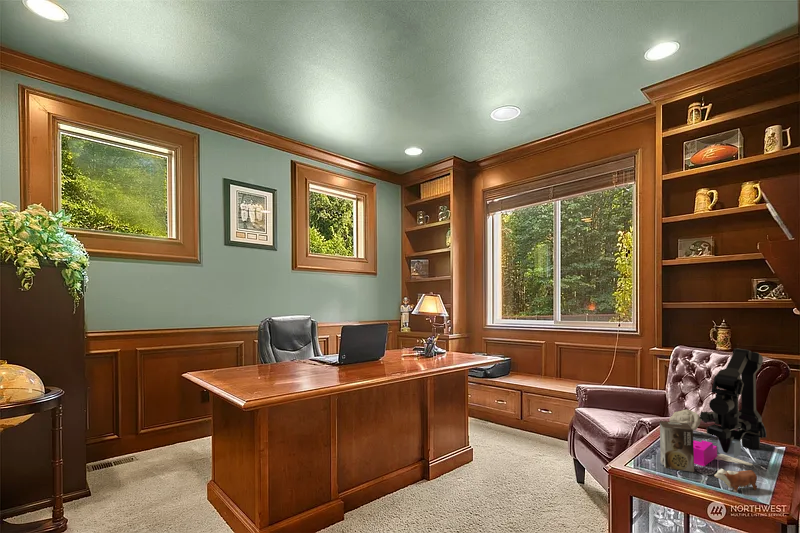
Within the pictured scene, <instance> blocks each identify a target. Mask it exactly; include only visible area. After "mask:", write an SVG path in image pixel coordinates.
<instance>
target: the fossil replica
mask: <svg viewBox="0 0 800 533" xmlns="http://www.w3.org/2000/svg"><path fill="white" fill-rule="evenodd" d="M668 421H669V422H678V423H687V424H688V425H689V426H690V427H691V428H692V429H693V432H694V431H696V430H698V427H699V426H700V424H701V421H702V420H701V419H700V414H699V413H697V411H693V410H691V409H687V408H686V409H683V410H679V411H678V410H677V411H675V412H673V413H672V415H671V416H670V417H669V420H668Z"/></svg>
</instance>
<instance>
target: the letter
mask: <svg viewBox="0 0 800 533" xmlns="http://www.w3.org/2000/svg"><path fill="white" fill-rule="evenodd" d="M714 460H717V461H719V460H720V461H724V462H730V463H734V464H739V465H745V466H754V464H753V463H751V462H748V461H746V460H743V459H742V460H741V459H739V458H737V457H735V458H733V457H730V456H727V455H724V454H721V453H719V454H717V457H716V458H715V459H714Z"/></svg>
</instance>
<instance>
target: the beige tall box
mask: <svg viewBox="0 0 800 533" xmlns="http://www.w3.org/2000/svg"><path fill="white" fill-rule="evenodd" d="M659 438H660V439H659V444H660V445H659V449H660V451H659V452H660V463H661V465H662V466H663V465H664V466H663V467H664V468H665V469H669V468H670V469H669V470H671V469H672V470H677V471H685V472H692V473H693V472H695V464H694V449H693V441H694V431H693V429H692V428H691V427H690V426H689V425H688V424H687V423H678V422H670V421H666V420H665V421H664V420H659Z"/></svg>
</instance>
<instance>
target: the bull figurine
mask: <svg viewBox="0 0 800 533" xmlns="http://www.w3.org/2000/svg"><path fill="white" fill-rule="evenodd" d="M714 477H715V479H716V478H717V479H720V480H721V481H723V483H725V484H726V485H727V486H728V488H729V489H733V492H735V493H737V492H738V490H739V487H740V488H746V487H747V488H749V487H752V488H753V489H752V490H753V491H757V488H758V485H757V479H758V477H757V474H756V473H755V471H754V470H751V469H750V470H740V471H733V470H725V469H723V468H720V469H718V470H717V472H716V473H715V474H714Z"/></svg>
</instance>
